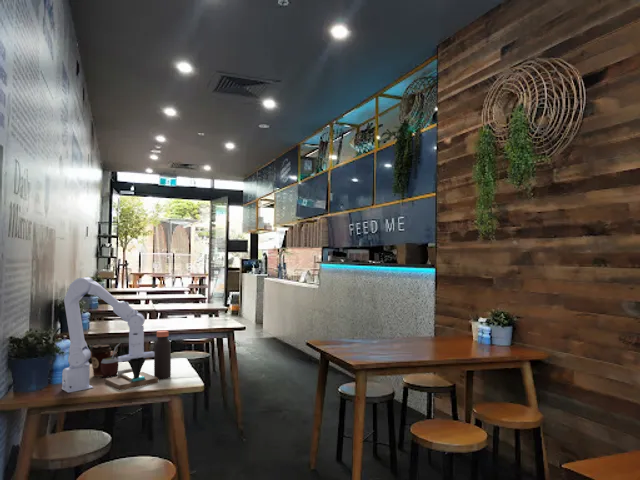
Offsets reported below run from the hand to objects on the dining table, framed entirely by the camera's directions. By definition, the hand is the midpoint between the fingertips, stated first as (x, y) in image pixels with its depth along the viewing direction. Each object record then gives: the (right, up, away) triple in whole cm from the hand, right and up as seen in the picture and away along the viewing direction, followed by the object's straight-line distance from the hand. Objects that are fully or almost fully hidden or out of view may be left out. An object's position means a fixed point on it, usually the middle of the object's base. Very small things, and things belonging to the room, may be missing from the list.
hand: (136, 377), depth 198 cm
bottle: (+7, -4, +12) cm, 14 cm away
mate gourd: (-16, -4, +14) cm, 21 cm away
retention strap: (-2, -1, +2) cm, 4 cm away
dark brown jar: (-22, -4, +17) cm, 28 cm away
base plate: (-3, -3, +3) cm, 5 cm away
